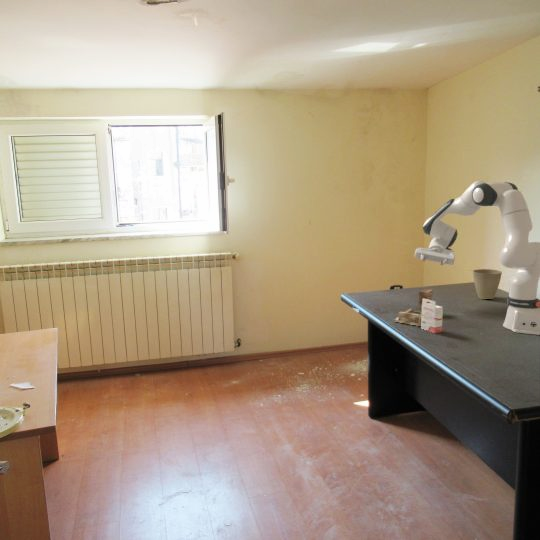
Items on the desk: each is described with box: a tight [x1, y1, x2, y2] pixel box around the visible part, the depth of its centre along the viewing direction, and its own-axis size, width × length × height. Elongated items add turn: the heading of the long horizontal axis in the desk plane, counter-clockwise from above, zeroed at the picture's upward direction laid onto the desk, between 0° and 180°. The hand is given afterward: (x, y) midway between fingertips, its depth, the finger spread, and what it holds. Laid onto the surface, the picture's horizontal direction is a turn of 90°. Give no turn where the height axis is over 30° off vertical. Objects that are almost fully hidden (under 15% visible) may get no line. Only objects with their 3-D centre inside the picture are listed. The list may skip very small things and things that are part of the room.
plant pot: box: [472, 268, 502, 300], centre depth 268 cm, size 15×15×16 cm
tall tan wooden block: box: [418, 288, 434, 312], centre depth 242 cm, size 5×7×12 cm, turn 143°
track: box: [393, 308, 422, 327], centre depth 230 cm, size 14×15×6 cm
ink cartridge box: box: [420, 298, 444, 334], centre depth 214 cm, size 9×5×15 cm, turn 27°
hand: (432, 262), depth 244 cm, fingers open, 8 cm apart
